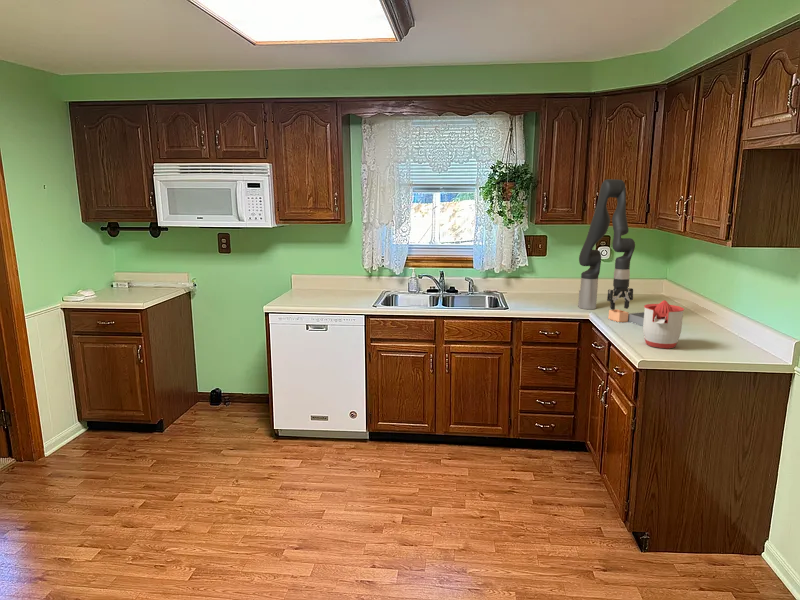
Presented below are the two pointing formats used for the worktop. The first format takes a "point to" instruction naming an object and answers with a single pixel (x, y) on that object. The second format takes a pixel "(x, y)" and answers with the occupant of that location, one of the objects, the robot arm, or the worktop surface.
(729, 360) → the worktop surface
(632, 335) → the worktop surface
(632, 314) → the large crate
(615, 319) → the small crate
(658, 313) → the citrus juicer
